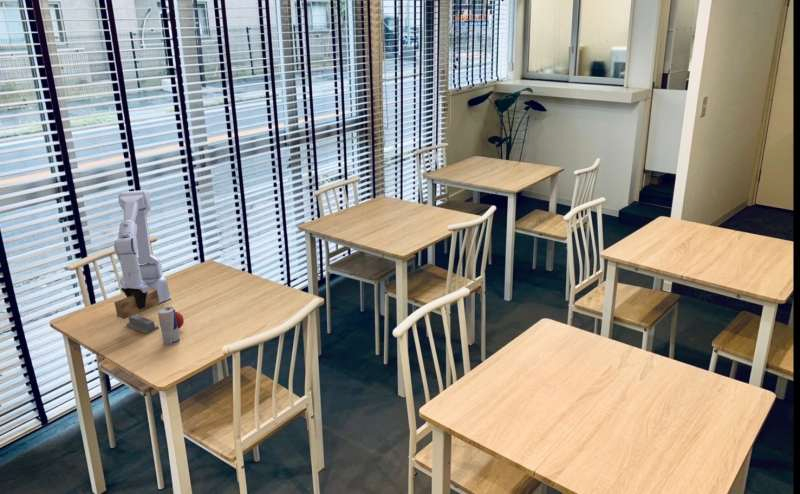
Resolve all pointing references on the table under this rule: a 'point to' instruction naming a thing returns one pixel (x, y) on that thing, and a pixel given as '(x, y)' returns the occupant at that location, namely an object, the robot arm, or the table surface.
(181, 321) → the onion
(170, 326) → the energy drink
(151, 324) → the ridge
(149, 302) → the batten
